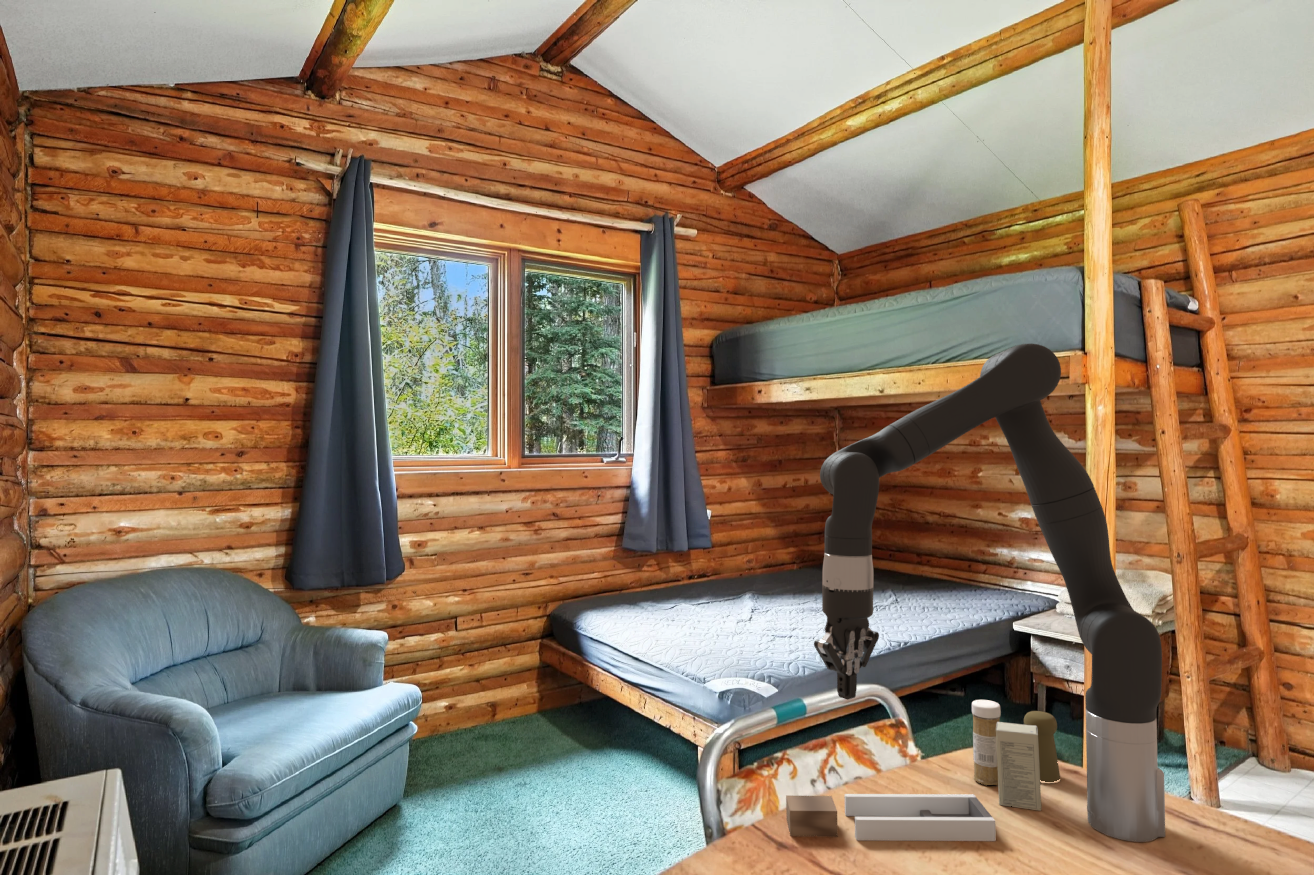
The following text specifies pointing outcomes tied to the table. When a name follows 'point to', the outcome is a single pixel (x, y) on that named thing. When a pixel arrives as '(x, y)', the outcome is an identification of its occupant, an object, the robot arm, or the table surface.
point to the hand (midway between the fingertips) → (846, 697)
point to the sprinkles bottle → (985, 741)
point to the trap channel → (936, 822)
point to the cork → (1045, 744)
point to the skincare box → (1018, 765)
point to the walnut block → (811, 816)
